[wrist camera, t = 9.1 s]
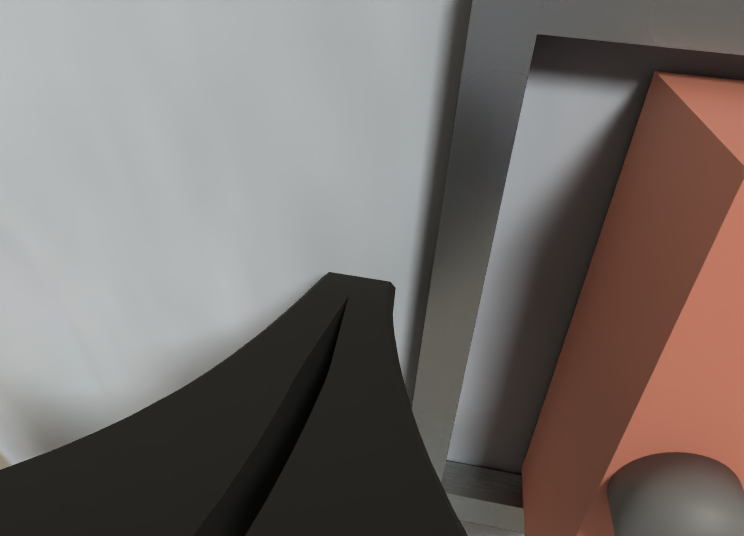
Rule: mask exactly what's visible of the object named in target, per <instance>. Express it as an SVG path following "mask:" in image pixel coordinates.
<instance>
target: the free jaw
mask: <svg viewBox="0 0 744 536" xmlns="http://www.w3.org/2000/svg"><path fill="white" fill-rule="evenodd" d="M522 486H523V509H524V531H525V536H744V80H735V79H725V78H716V77H707V76H698V75H688V74H679V73H670V72H660V71H655V72H654V75H653V78H652V81H651V84H650V87H649V90H648V93H647V96H646V99H645V102H644V105H643V108H642V111H641V114H640V117H639V120H638V123H637V126H636V129H635V132H634V135H633V138H632V141H631V143H630V146H629V149H628V152H627V155H626V158H625V161H624V164H623V167H622V170H621V173H620V176H619V179H618V182H617V185H616V188H615V191H614V194H613V197H612V200H611V203H610V206H609V209H608V212H607V215H606V218H605V221H604V224H603V227H602V230H601V233H600V236H599V239H598V242H597V245H596V248H595V251H594V254H593V257H592V260H591V263H590V266H589V269H588V272H587V275H586V278H585V281H584V284H583V287H582V290H581V293H580V296H579V299H578V302H577V305H576V308H575V311H574V314H573V317H572V320H571V323H570V326H569V329H568V332H567V335H566V338H565V341H564V344H563V347H562V350H561V353H560V356H559V359H558V362H557V365H556V368H555V371H554V374H553V377H552V380H551V383H550V386H549V389H548V392H547V395H546V398H545V401H544V404H543V406H542V409H541V412H540V415H539V418H538V421H537V424H536V427H535V430H534V433H533V436H532V439H531V442H530V445H529V448H528V451H527V454H526V457H525V460H524V463H523V466H522Z"/></svg>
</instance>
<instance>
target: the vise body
mask: <svg viewBox="0 0 744 536" xmlns="http://www.w3.org/2000/svg"><path fill="white" fill-rule="evenodd" d="M537 34H541V35H551V36H561V37H570V38H580V39H590V40H599V41H609V42H619V43H629V44H638V45H648V46H658V47H667V48H677V49H687V50H697V51H706V52H716V53H726V54H735V55H744V0H472V7H471V14H470V20H469V27H468V34H467V41H466V47H465V54H464V61H463V67H462V74H461V81H460V88H459V94H458V101H457V108H456V115H455V121H454V128H453V135H452V141H451V148H450V155H449V162H448V168H447V175H446V182H445V189H444V195H443V202H442V209H441V215H440V222H439V229H438V236H437V242H436V249H435V256H434V262H433V269H432V276H431V283H430V289H429V296H428V303H427V310H426V316H425V323H424V330H423V336H422V343H421V350H420V357H419V363H418V370H417V377H416V384H415V390H414V397H413V404H412V412H413V415H414V418H415V421H416V423H417V426H418V429H419V432H420V435H421V437H422V440H423V442H424V445H425V447H426V450H427V452H428V455H429V458H430V460H431V462H432V464H433V467H434V469H435V471H436V473H437V475H438V477H439V479H440V482H441V484H442V486H443V488H444V490H445V492H446V494H447V497H448V499H449V501H450V503H451V505H452V507H453V509H454V511H455V513H456V515H457V517H458V519H459V520H462V521H467V522H472V523H477V524H481V525H486V526H491V527H496V528H501V529H506V530H511V531H515V532H520V533H525V531H524V509H523V486H522V475H519V474H513V473H508V472H503V471H498V470H493V469H488V468H482V467H477V466H472V465H467V464H462V463H457V462H451V461H446V458H447V453H448V449H449V444H450V439H451V435H452V430H453V425H454V421H455V416H456V411H457V407H458V402H459V397H460V392H461V388H462V383H463V378H464V374H465V369H466V364H467V360H468V355H469V350H470V346H471V341H472V336H473V332H474V327H475V322H476V317H477V313H478V308H479V303H480V299H481V294H482V289H483V285H484V280H485V275H486V271H487V266H488V261H489V257H490V252H491V247H492V243H493V238H494V233H495V228H496V224H497V219H498V214H499V210H500V205H501V200H502V196H503V191H504V186H505V182H506V177H507V172H508V168H509V163H510V158H511V153H512V149H513V144H514V139H515V135H516V130H517V125H518V121H519V116H520V111H521V107H522V102H523V97H524V93H525V88H526V83H527V79H528V74H529V69H530V64H531V60H532V55H533V50H534V46H535V41H536V36H537Z"/></svg>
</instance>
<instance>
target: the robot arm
mask: <svg viewBox="0 0 744 536" xmlns="http://www.w3.org/2000/svg"><path fill="white" fill-rule="evenodd" d="M394 297H395V287H394V285H393V284H392V283H391V282H388V281H382V280H376V279H369V278H363V277H357V276H350V275H344V274H338V273H331V272H329V273H327V274H326V275H325V276H323V277H322V278H321V279H320V280H319V281H318V282H317V283H316V284H315V285H314V286H313V287H312V288H311V289H310V290H309V291H308V292H307V293H306V294H305V295H303V296H302V297H301V298H300V299H299V300H298V301H297V302H296V303H295V304H294V305H293V306H292V307H290V308H289V309H288V310H287V311H286V312H285V313H284V314H282V315H281V316H280V317H279V318H278V319H277V320H275V321H274V322H273V323H272V324H271V325H270V326H268V327H267V328H266V329H265V330H264V331H262V332H261V333H260V334H259V335H257V336H256V337H255V338H253V339H252V340H251V341H250V342H248V343H247V344H246V345H244V346H243V347H242V348H240V349H239V350H238V351H236V352H235V353H234V354H232V355H231V356H230V357H228V358H227V359H226V360H224V361H223V362H221V363H220V364H218V365H217V366H216V367H214V368H213V369H211V370H210V371H208V372H207V373H205V374H203V375H202V376H200V377H199V378H197V379H196V380H194V381H192V382H191V383H189V384H188V385H186V386H184V387H183V388H181V389H179V390H178V391H176V392H174V393H172V394H170V395H169V396H167V397H165V398H163V399H161V400H159V401H157V402H155V403H154V404H152V405H150V406H148V407H146V408H144V409H142V410H141V411H139V412H137V413H135V414H133V415H131V416H129V417H127V418H125V419H123V420H121V421H119V422H117V423H114V424H112V425H110V426H108V427H106V428H104V429H102V430H99V431H97V432H95V433H93V434H90V435H88V436H86V437H83V438H81V439H79V440H77V441H74V442H72V443H70V444H67V445H65V446H62V447H60V448H57V449H55V450H52V451H50V452H48V453H45V454H42V455H39V456H37V457H34V458H31V459H29V460H26V461H23V462H20V463H18V464H15V465H12V466H10V467H7V468H4V469H1V470H0V536H467V534H466V532H465V530H464V528H463V526H462V524H461V522H460V521H459V519H458V517H457V515H456V513H455V511H454V509H453V507H452V505H451V503H450V501H449V499H448V497H447V494H446V492H445V490H444V488H443V486H442V484H441V482H440V479H439V477H438V475H437V473H436V471H435V469H434V467H433V464H432V462H431V460H430V458H429V455H428V452H427V450H426V447H425V445H424V442H423V440H422V437H421V435H420V432H419V429H418V426H417V423H416V421H415V418H414V415H413V412H412V409H411V405H410V402H409V399H408V395H407V392H406V388H405V384H404V380H403V376H402V372H401V368H400V363H399V359H398V353H397V347H396V341H395V335H394V327H393V307H394Z"/></svg>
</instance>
